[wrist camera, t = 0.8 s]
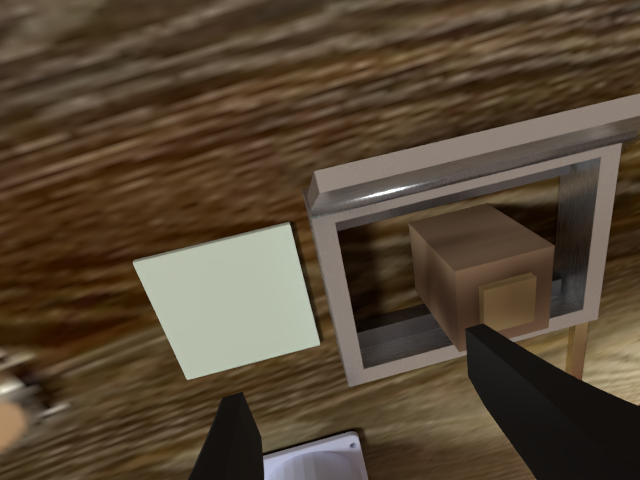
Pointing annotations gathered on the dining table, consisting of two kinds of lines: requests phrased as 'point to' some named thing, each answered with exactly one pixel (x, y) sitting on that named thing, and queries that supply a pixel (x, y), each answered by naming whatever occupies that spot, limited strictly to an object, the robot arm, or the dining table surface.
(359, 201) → the propped lid
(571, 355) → the brass bar
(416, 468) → the dining table surface
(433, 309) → the walnut block
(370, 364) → the aluminium case
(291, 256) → the green rubber mat
